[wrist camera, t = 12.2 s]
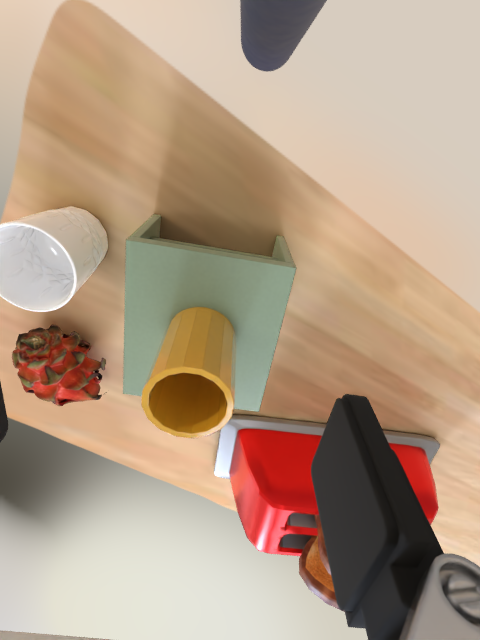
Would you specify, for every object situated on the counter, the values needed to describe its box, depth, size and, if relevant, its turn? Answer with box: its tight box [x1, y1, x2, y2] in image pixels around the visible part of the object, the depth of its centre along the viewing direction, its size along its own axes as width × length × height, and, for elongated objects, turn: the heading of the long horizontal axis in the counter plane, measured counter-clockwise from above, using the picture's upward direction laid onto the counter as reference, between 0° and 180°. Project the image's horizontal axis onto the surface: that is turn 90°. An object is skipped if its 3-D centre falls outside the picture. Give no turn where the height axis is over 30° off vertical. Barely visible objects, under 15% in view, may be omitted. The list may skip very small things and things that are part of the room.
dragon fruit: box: [12, 325, 107, 406], centre depth 42 cm, size 8×8×12 cm
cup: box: [141, 307, 236, 438], centre depth 29 cm, size 6×6×9 cm
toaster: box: [214, 415, 440, 612], centre depth 46 cm, size 32×13×19 cm, turn 82°
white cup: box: [0, 206, 108, 312], centre depth 34 cm, size 8×8×10 cm
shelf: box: [123, 214, 296, 412], centre depth 37 cm, size 16×14×10 cm
